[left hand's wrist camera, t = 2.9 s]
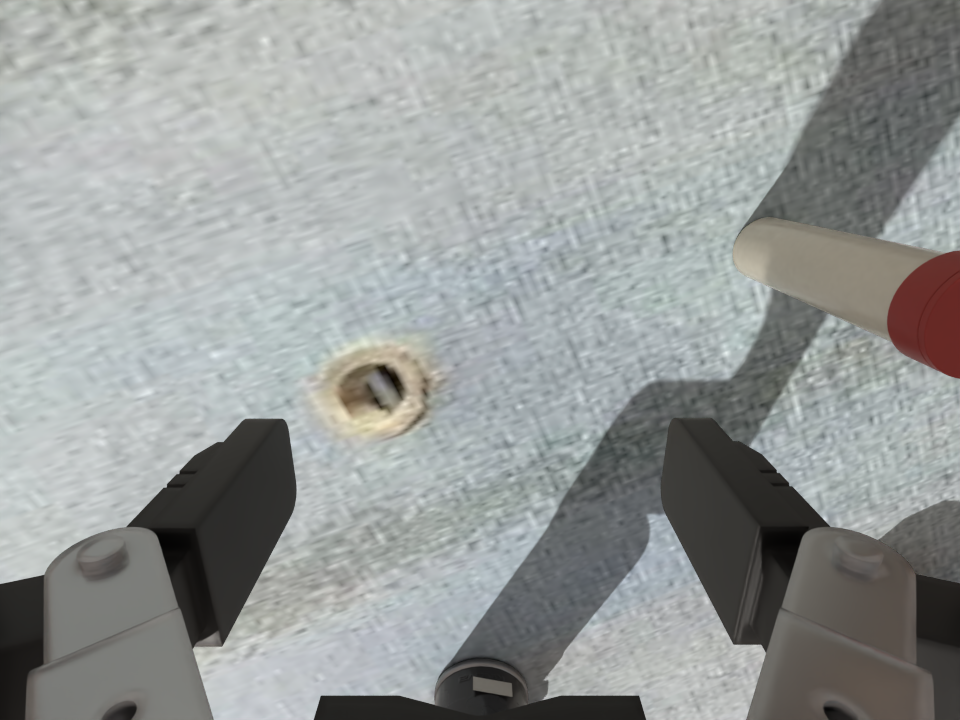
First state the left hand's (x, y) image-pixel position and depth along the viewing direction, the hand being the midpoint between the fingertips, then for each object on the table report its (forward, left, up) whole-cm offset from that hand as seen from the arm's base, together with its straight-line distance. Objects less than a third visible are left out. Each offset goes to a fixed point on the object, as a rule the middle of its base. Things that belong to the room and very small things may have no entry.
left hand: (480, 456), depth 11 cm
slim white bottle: (0, -20, -29) cm, 36 cm away
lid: (0, -20, -11) cm, 23 cm away
